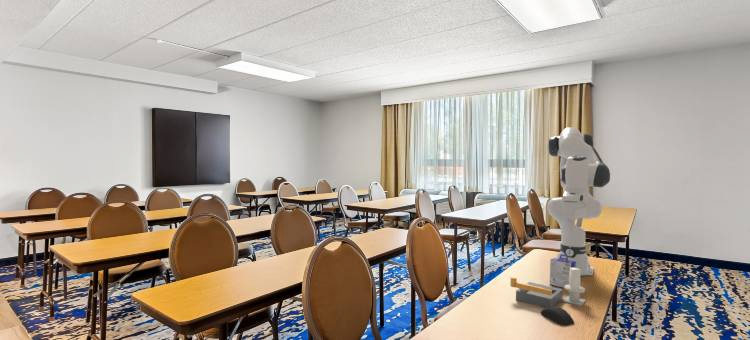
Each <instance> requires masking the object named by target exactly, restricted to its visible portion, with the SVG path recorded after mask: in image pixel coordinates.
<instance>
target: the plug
mask: <svg viewBox="0 0 750 340" xmlns="http://www.w3.org/2000/svg"><path fill="white" fill-rule="evenodd" d="M581 276H582V275H581V270H580V269H578V268H570V278H569V284H568V285H565V286H564V288H563V290H564V291H566V292H568V296H569V300H571V301H574V302H579V301H580V299H581V297H580V296H581V294H584V293H585V292H586V288H585V287H583V286H581Z"/></svg>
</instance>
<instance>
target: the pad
mask: <svg viewBox="0 0 750 340" xmlns="http://www.w3.org/2000/svg"><path fill="white" fill-rule="evenodd" d="M562 302H563V303H567V304H569V305H570V304H571V305H575V306H578V307H582V306H583V305H584V303H586V299H585V298H580V301H579V302H574V301H571V300H569V295H567V296H565V297H564V298H563V299H562Z"/></svg>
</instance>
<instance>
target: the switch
mask: <svg viewBox="0 0 750 340" xmlns="http://www.w3.org/2000/svg"><path fill="white" fill-rule="evenodd" d="M526 284H529V285H532V286H536V287H541V288H545V289H549V290H552V295H551V296H550V295H546V294H542V293H537V292H533V291H529V290H524V289H520V288H517V289H516V290H515V300H516V301H517V302H523V303H525V304H529V305H534V306H538V307H542V308H544V309H545V308H548V307H556V305H557V304H559V302H560V301H563V299H564V298H563V297H564V296H563V295H564V294H563V293H564V291H563V290H564V288H560V287H559V288H558V287H555V286H551V285H544V284H540V283H536V282H531V281H528V282H527V283H526Z"/></svg>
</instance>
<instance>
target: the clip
mask: <svg viewBox="0 0 750 340" xmlns="http://www.w3.org/2000/svg"><path fill="white" fill-rule="evenodd" d="M510 287H512V288H516V289H519V288H520V289H524V290H529V291H533V292H537V293H542V294H546V295H550V296H551V295H552V290H549V289H545V288H541V287H536V286H532V285H529V284H527V283H524V282H520V281H518V279H517V277H514V276H513V277H512V276H511V277H510Z"/></svg>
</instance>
